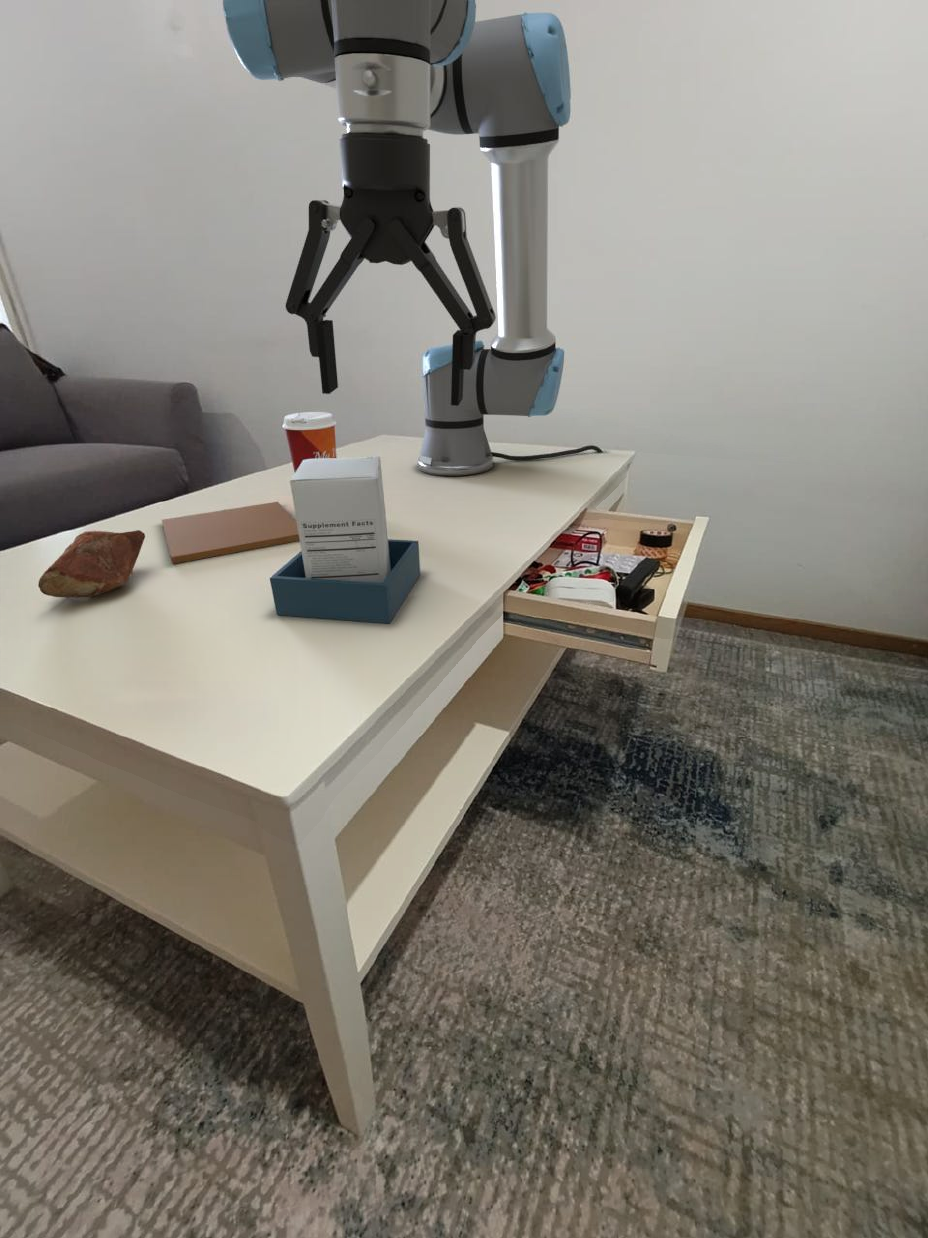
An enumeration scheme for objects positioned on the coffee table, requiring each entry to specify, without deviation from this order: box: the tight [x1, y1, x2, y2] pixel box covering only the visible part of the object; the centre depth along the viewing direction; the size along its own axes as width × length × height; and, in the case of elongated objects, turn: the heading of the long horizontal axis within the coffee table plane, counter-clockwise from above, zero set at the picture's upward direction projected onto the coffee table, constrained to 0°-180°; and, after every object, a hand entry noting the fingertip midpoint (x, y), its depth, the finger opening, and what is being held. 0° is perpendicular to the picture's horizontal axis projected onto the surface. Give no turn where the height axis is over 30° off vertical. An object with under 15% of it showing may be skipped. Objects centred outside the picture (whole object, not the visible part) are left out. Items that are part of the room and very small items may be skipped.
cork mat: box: [161, 501, 300, 565], centre depth 89 cm, size 18×18×1 cm
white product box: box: [289, 455, 391, 583], centre depth 66 cm, size 9×9×15 cm
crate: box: [269, 538, 421, 624], centre depth 68 cm, size 13×13×4 cm
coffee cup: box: [281, 411, 338, 473], centre depth 95 cm, size 8×8×15 cm
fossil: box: [37, 529, 146, 598], centre depth 70 cm, size 13×8×10 cm
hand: (392, 396), depth 61 cm, fingers open, 13 cm apart
